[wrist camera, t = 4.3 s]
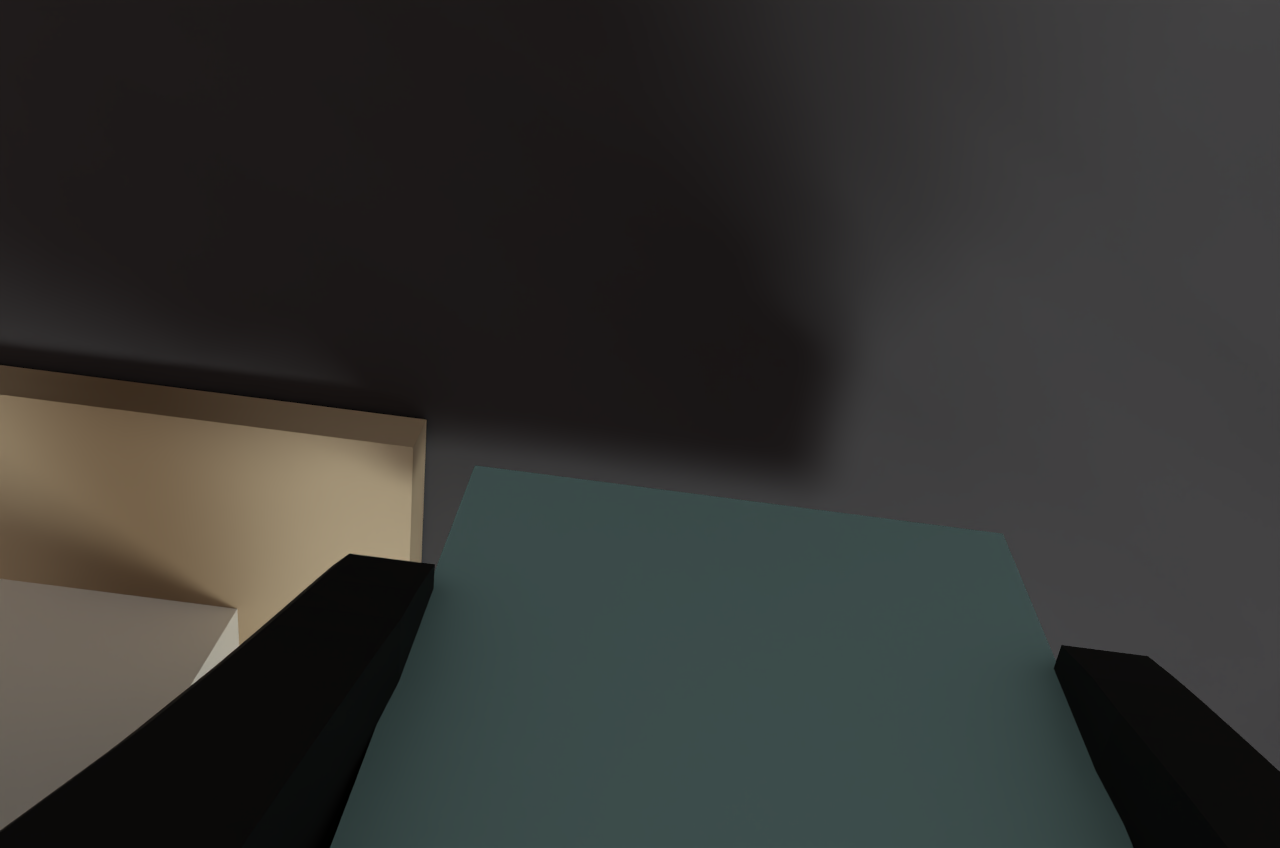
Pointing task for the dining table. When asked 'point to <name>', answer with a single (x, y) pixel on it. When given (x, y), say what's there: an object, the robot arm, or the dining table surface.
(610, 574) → the teal domino
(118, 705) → the domino
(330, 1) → the dining table surface
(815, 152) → the dining table surface
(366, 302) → the dining table surface
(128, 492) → the oak board
